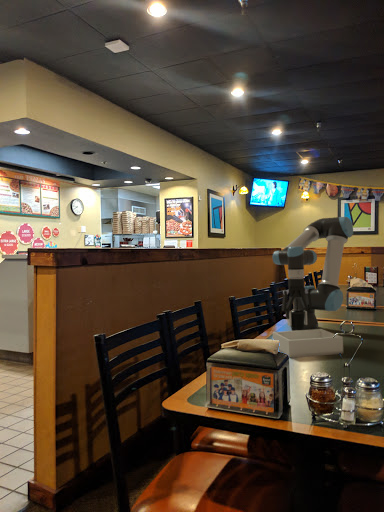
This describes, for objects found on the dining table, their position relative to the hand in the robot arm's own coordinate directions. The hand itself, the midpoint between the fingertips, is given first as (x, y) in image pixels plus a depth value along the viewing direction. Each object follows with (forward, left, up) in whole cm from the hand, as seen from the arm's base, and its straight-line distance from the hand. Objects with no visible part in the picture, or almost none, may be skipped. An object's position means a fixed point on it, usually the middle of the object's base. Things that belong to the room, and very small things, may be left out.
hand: (297, 324), depth 195 cm
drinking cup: (0, 0, -7) cm, 7 cm away
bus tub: (+5, +20, -7) cm, 22 cm away
